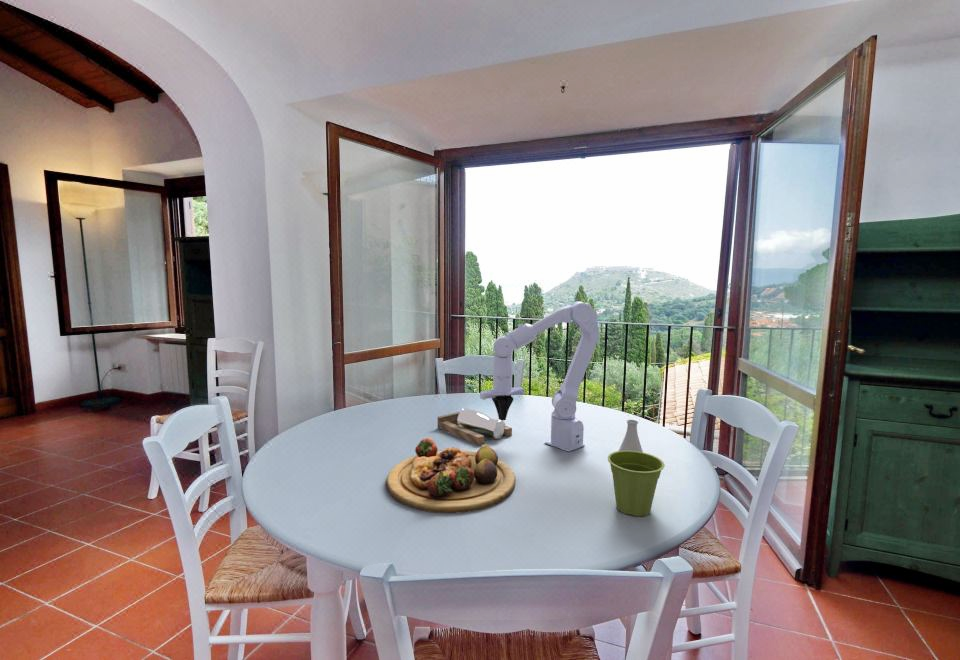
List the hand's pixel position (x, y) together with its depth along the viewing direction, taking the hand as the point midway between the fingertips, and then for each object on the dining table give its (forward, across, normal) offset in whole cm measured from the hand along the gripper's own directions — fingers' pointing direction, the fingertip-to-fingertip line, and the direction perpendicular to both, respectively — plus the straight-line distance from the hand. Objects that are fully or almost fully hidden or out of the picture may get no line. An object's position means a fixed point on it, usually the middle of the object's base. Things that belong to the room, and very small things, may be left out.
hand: (502, 419), depth 143 cm
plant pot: (+8, +5, -49) cm, 50 cm away
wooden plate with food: (+8, -25, -18) cm, 32 cm away
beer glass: (+4, +1, +3) cm, 5 cm away
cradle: (+7, -3, +12) cm, 15 cm away
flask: (+8, +29, -25) cm, 39 cm away
